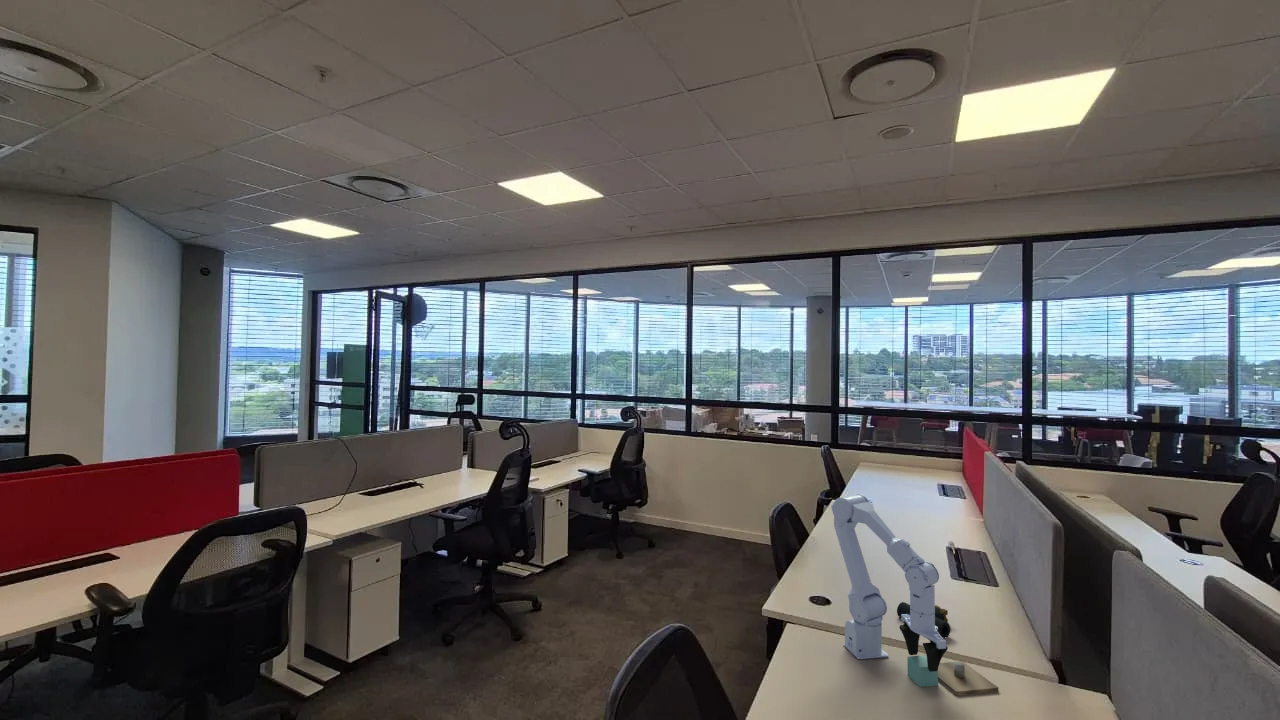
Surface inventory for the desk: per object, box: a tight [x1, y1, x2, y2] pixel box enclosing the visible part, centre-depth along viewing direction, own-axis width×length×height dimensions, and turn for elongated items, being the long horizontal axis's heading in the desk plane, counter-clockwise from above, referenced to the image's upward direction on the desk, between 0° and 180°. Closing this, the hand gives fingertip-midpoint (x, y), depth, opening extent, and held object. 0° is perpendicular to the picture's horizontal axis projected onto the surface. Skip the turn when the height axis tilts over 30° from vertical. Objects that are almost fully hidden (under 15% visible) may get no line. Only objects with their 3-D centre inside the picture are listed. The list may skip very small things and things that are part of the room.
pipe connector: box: [896, 601, 951, 639], centre depth 165 cm, size 12×5×15 cm
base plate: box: [938, 660, 999, 697], centre depth 136 cm, size 12×12×4 cm
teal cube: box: [907, 654, 939, 688], centre depth 135 cm, size 5×5×5 cm
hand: (922, 662), depth 135 cm, fingers open, 7 cm apart
